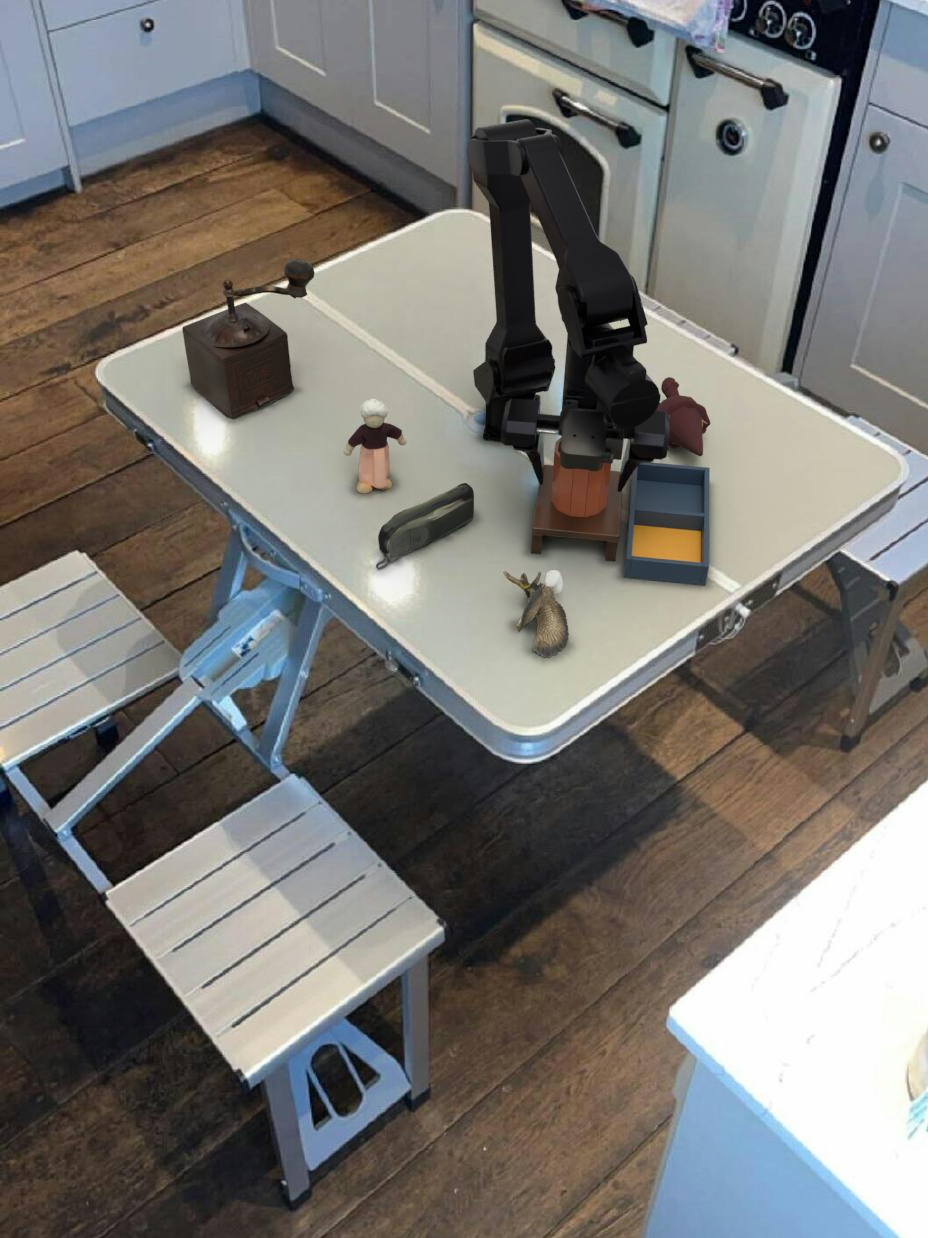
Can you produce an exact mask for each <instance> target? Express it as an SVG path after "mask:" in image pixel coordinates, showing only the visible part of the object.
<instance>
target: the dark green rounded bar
mask: <svg viewBox="0 0 928 1238" xmlns="http://www.w3.org/2000/svg"><path fill="white" fill-rule="evenodd" d="M474 513H475V491H474V489H473V487H472V485H470V484H469V483H467V482H463V483H460V484H458V485H456V486H455V487H453V488H451V489H449V490H447V491H445V492H443V493H440V494H437V495H436V496H434V497H432V498H430V499H428V500H427V501H425V502H422V503H419V504H417V505H416V504H415V505H413V506H412V507H409V508H405V509H403V510H401V511H399V512H397V513H395V514H394V515H393V516H392V517H391V518H390V519H389V520H388V521H387V522H385V523H384V524H383V525H382V526H381V528H380V529H379V532H378V536H377V539H378V549H379V551H380V552H381V553H382V554H383V559H382V560H381V561H379V562H378V563H376V565H375V567H376V568H377V569H378V570H380V569H381V568H383V567H385V566H387V565H389V564H390V563H392V562H393V561H395V560H397V559H399V558H400V557H403V556H405V555H407V554H409V553H410V552H413V551H416V550H417V549H420V548H422V547H424V546H426V545H428V544H429V543H431V542H433V541H435V540H438V539H440V538H442V537H444V536H447V535H448V534H450V533H452V532H454V531H456V530H458V529H461V528H462V527H464V526H466V525H467V524H468V523H470V522H471V521H472V520H473V518H474Z"/></svg>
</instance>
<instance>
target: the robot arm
mask: <svg viewBox="0 0 928 1238" xmlns="http://www.w3.org/2000/svg"><path fill="white" fill-rule="evenodd" d="M552 131H553V130H552V129H549V128H548V129H547V128H542V127H535V125H534V123H533V121H531V120H530V119H520V120H514V121H509V122H503V123H497V124H490V125H485V126H484V125H483V126H479V127H477V128H476V129H475V131H474V133H473V135H471V136H470V138H469V139H468V141H467V144H466V156H467V162H468V165H469V167H470V169H471V172H472V179H473V182H474V184H475V185H476V186H477V188H478V189H479V191H480V192H481V194H482V195H483V196H484V198H485V199H486V201H487V202H488V207H489V208H488V210H489V224H490V238H491V241H490V242H491V254H492V255H491V256H492V269H493V270H492V271H493V285H494V287H493V288H494V301H495V315H496V316H495V317H496V320H495V321H496V322H495V324H494V326H493V328H492V330H491V331H490V333H489V335H488V337H487V339H486V341H485V345H484V357H485V358H484V361H483V362H482V363H481V364H480V365H478V366H476V367H475V368H474V369H472V374H473V382H474V383H473V384H474V387H475V388H476V390H477V391H478V393H479V394H480V396H481V397H482V399H483V400H484V401H485V407H484V408H485V410H484V411H485V412H484V426H483V431H482V439H483V440H486V441H495V442H500V443H502V444H503V445H504V446H507V447H512V449H513V450H514V451H518V452H522V453H524V454H525V455H526V457H527V459H528V460H529V462H530V465H531V466H532V469H533V472H534V474H535V477H536V479H537V482H538V485H539V484H541V485H542V484H543V479H544V465H545V451H544V450H545V449H544V434H546V435H557V436H560V438H561V445H560V464H561V466H562V467H563V468H566V469H583V470H589V471H599V470H600V469H602V467H603V464H604V463H611V465H612V464H613V463H614V460H619V461H620V460H622V462H621V465H620V469H619V471H620V474H619V481H618V492H621V491H622V492H623V489H624V488H625V486H626V485H627V483H628V482H629V480H630V479H631V475H632V473H633V471H634V470H635V469H636V468H637V467H638V465H639V464H640V463H644V462H649V463H650V462H652V463H654V460H660V461H662V460H664V459H665V458H667V457H668V451H669V446H668V444H669V430H670V417H669V415H668V414H667V413H666V412H662V411H656V409H657V407H658V405H659V403H661V394H660V393H661V392H660V389H659V387H658V385H657V384H656V382H654V381H653V379H652V378H651V377H650V376H649V375H648V373H647V369H646V367H645V366H644V365H643V363H641V362H640V361H638V360H637V359H636V358H635V356H634V349H635V346H639V345H640V346H641V345H645V344H647V343H648V336H647V331H646V326H648V325H649V323H648V320H647V316H646V312H645V309H644V305H643V302H642V298H641V295H640V291H639V287H638V284H637V281H636V280H635V277H634V276H633V275H632V274H631V273H630V271H629V269H628V267H627V265H626V264H625V262H624V261H623V259H622V257H621V256H620V254H619V253H618V252H617V251H616V250H614V249H612V247H609V246H608V245H606V244H605V243H604V242H601V240H600V238H599V237H598V234H597V233H596V231H595V228H594V225H593V224H592V222H591V219H590V217H589V215H588V213H587V210H586V208H585V206H584V204H583V201H582V199H581V197H580V194H579V192H578V190H577V188H576V185H575V183H574V181H573V179H572V177H571V174H570V172H569V170H568V168H567V165H566V163H565V161H564V150H563V145H562V141H561V140H560V138H559V136H558V135H556V134H552V133H553V132H552ZM531 205H532V207H533V210H534V212H535V214H536V217H537V219H538V221H539V223H540V226H541V228H542V231H543V233H544V235H545V237H546V240H547V241H548V245H549V247H550V249H551V252H552V255H553V256H554V258H555V261H556V265H557V268H558V272H557V276H556V277H557V278H556V281H555V286H554V287H555V288H554V290H555V292H556V295H557V306H558V310H559V313H560V316H561V317H560V318H561V321H562V323H563V325H564V328H565V330H566V333H567V335H566V350H565V361H564V362H565V363H564V364H565V365H564V374H563V375H564V376H563V387H562V388H563V390H562V401H561V411H560V413H559V414H549V413H548V414H546V413H541V405H542V404H541V395H540V394H539V393H544V392H545V393H546V392H549V390H550V387H551V385H552V381H553V377H554V374H555V371H556V364H555V363H556V359H555V358H554V355H553V344H552V342H551V341H550V339H548V338H547V336H545V334H544V333H543V332H542V330H541V329H540V327H539V326H538V324H537V318H536V300H535V298H536V297H535V280H534V261H533V258H534V257H533V239H532V238H533V237H532V221H531V220H532V215H531ZM625 320H627V321H628V324H629V325H626V326H621V327H617V328H614V327H613V326H612V325H611V324H612V323H616V322H621V321H625ZM624 440H627V441H626V446H625V450H624ZM605 445H606V448H605ZM623 450H624V453H623ZM622 457H623V458H622Z"/></svg>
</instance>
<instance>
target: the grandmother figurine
mask: <svg viewBox="0 0 928 1238" xmlns="http://www.w3.org/2000/svg"><path fill="white" fill-rule="evenodd" d="M359 410H360V411H359V413H360V417H361V418H362V419H363V422H364V423H363V424H361V425H360V426H359V427H357V429H356V430H355V431H354V432H353V434H352V435H351V436H350V437H349V438H348V440H347V443H346V445H345V448H344V449H343V454H344V455H345V457H346V456H347V457H349V456H351V455H352V454H353V451H354V450H355V448H356V447H357V446H360V449H359V450H360V451H359V459H358V482H357V484H356V491H357V492H358V493H360V494H369V493H371V492H372V491H373V488H375V489H379V490H381V491H383V490H385V491H386V490H389V489H391V488H392V487H393V482H392V481H391V479H390V478H389V476H390V463H391V461H390V458H391V457H390V445H389V443H388V438H390V439H393V440H395V441H397V443H398V445H400V446H405V445H406V444H407V439H406V438H405V437H404V434H403V430H402V429H401V428H399V427H398V426H397V425H395V424H391V423H388V422H385V419H386V418H387V416H388V414H389V409H388V407H387V405H385V403H384V402H382V401H380V400H378V399H376V398H370V399H367V400H364V401H363V402H362V405H361V406H360V408H359Z"/></svg>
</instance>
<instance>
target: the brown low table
mask: <svg viewBox="0 0 928 1238" xmlns="http://www.w3.org/2000/svg"><path fill="white" fill-rule="evenodd" d="M553 465H554V464H544V479H543V484H542V485H541V484H539V483H538V489H537V495H536V501H535V509H534V514H533V521H532V529H531V541H530V543H531V544H530V554H534V555H535V554H536V555H542V549H543V543H544V536H546V537H547V536H548V537H559V538H569V539H577V540H578V539H579V540H590V541H600V542H606V546H605V547H606V549H605V557H604V558H605V559H604V560H605V561H606V562H616V561H617V552H618V544H619V538H620V537H619V535H620V525H621V524H620V522H621V510H622V501H623V499H622V498H623V490H622V491H621V492H618V481H619V474H620V470H611V471H610V480H609V489H608V497H607V506H606V507H605V508H604V509H603V510H602V511H601V512H600V513H599V514H596V515H592V516H588V517H574V516H568V515H566V514H564V513H562V512H560V511H558V510H557V509H556V507H555V506H554V505H553V503H552V502H551V493H552V479H553Z"/></svg>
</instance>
